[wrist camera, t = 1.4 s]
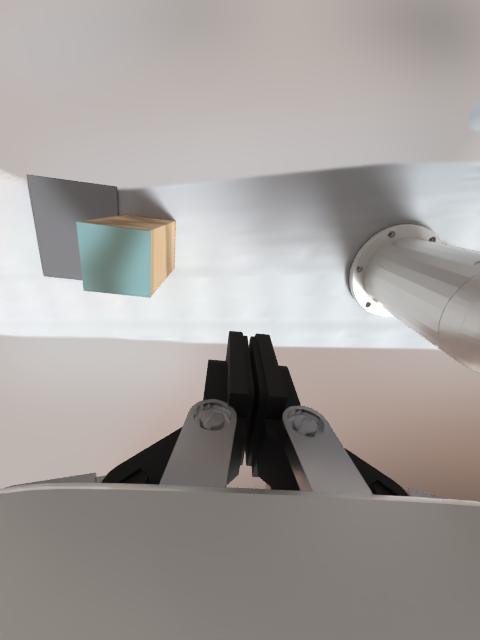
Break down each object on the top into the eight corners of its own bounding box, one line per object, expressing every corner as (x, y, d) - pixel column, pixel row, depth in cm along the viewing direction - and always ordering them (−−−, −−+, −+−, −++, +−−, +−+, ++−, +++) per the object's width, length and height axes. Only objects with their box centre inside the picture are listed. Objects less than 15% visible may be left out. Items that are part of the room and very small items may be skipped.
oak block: (175, 220, 34) (149, 230, 23) (174, 268, 36) (150, 297, 25) (126, 214, 33) (76, 221, 22) (128, 262, 36) (83, 290, 25)
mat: (117, 186, 32) (115, 186, 32) (122, 283, 37) (121, 284, 37) (28, 174, 31) (26, 174, 31) (45, 275, 36) (43, 276, 36)
